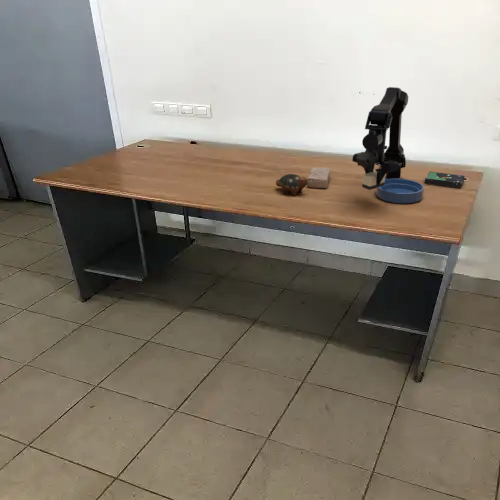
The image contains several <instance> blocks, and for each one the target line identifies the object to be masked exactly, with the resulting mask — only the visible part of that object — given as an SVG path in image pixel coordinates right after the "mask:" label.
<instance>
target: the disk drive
mask: <svg viewBox="0 0 500 500" xmlns="http://www.w3.org/2000/svg"><path fill="white" fill-rule="evenodd" d="M465 177H466V176H465V175H461V174H452V173H446V172H439V171H429V172H428V173H427V174H426V177H425V178H424V184H427V185H433V186H439V187H440V186H441V187H447V188H452V189H453V188H454V189H455V188H456V189H461V187H462V186H463V183H464V181H465Z"/></svg>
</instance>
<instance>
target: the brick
mask: <svg viewBox="0 0 500 500" xmlns="http://www.w3.org/2000/svg"><path fill="white" fill-rule="evenodd" d="M330 176H331V168H329V167H312V168H311V170H310V172H309V175H308V176H307V180H308V183H307V187H309V188H318V189H327V188H328V185H329V182H330V181H329V180H330Z"/></svg>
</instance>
